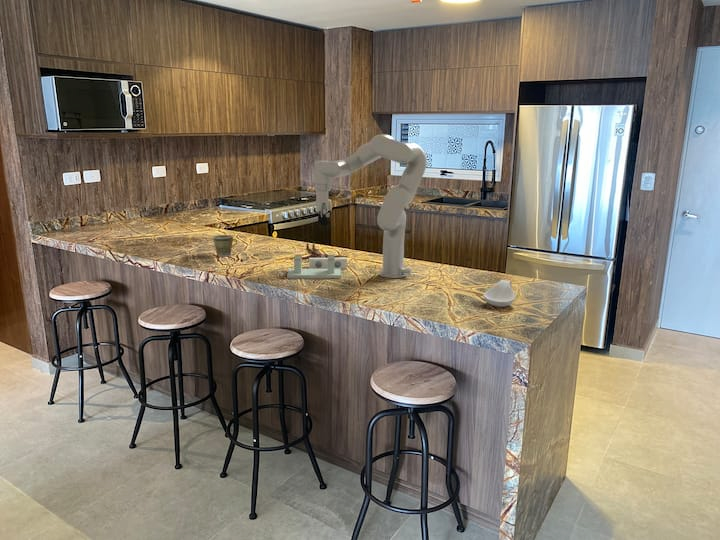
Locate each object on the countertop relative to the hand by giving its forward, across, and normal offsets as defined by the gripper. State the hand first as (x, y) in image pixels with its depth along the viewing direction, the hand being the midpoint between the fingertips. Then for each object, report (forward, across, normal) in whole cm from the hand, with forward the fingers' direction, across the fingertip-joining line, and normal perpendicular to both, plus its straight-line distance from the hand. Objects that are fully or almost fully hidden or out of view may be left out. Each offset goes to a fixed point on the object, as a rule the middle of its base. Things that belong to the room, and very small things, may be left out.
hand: (322, 223), depth 259 cm
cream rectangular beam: (+21, +3, +2) cm, 22 cm away
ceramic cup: (+22, -29, -47) cm, 59 cm away
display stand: (+21, +15, -5) cm, 27 cm away
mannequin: (+22, -26, 0) cm, 34 cm away
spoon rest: (+21, +63, +64) cm, 92 cm away
